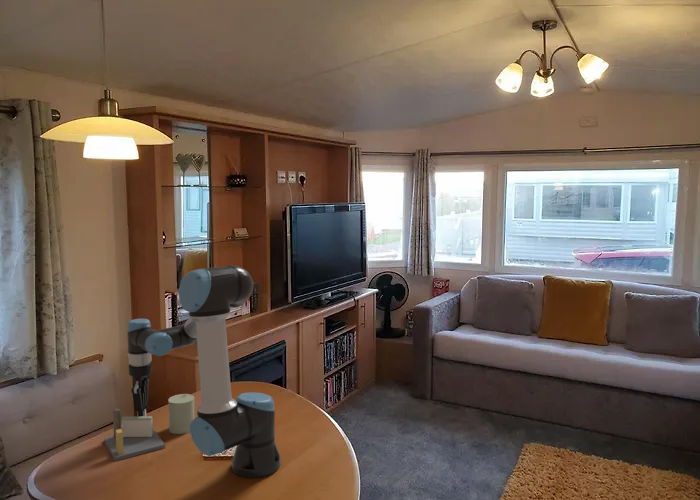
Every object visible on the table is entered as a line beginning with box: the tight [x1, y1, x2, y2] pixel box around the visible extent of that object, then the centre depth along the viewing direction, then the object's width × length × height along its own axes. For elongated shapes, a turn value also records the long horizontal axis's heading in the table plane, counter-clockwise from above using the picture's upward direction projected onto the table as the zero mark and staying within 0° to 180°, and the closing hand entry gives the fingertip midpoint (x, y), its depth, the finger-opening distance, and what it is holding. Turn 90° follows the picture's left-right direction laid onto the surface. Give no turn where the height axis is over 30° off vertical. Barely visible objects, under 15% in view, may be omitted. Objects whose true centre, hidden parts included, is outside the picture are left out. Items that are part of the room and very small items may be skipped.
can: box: [167, 393, 196, 435], centre depth 197 cm, size 9×9×12 cm
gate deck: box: [103, 408, 166, 462], centre depth 184 cm, size 17×16×11 cm
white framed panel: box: [121, 415, 154, 437], centre depth 187 cm, size 10×2×7 cm, turn 92°
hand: (142, 426), depth 191 cm, fingers closed
